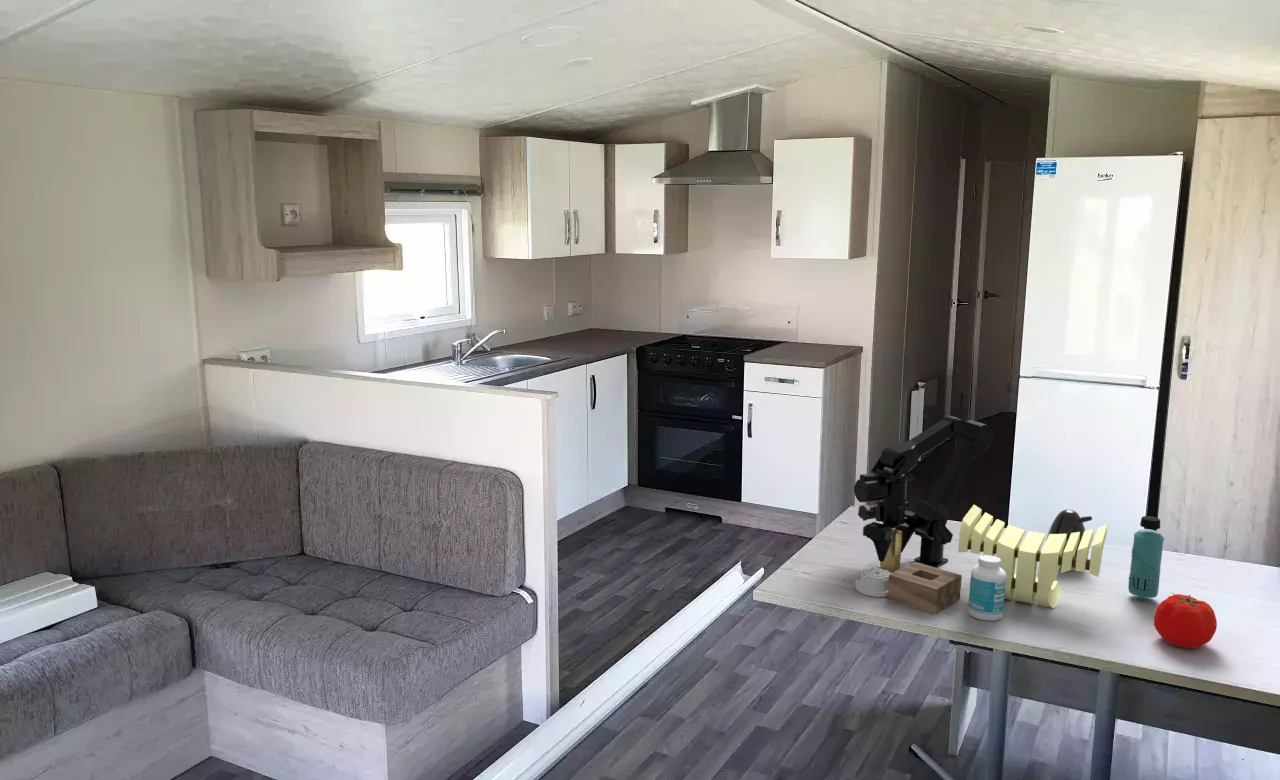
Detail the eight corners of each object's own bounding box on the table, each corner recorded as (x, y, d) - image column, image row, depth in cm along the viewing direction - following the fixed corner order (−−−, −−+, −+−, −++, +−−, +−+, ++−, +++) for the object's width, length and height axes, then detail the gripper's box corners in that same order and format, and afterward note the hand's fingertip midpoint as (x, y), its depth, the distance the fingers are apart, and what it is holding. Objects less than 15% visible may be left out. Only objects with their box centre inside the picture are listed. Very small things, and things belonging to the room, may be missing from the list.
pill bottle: (998, 625, 212) (1003, 566, 210) (964, 617, 216) (968, 560, 214) (1006, 613, 219) (1010, 556, 216) (972, 606, 222) (976, 550, 220)
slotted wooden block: (913, 585, 234) (915, 561, 233) (960, 599, 226) (961, 575, 225) (887, 599, 226) (889, 574, 225) (935, 614, 218) (936, 589, 217)
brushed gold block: (885, 564, 248) (888, 527, 246) (899, 568, 245) (902, 531, 243) (879, 567, 246) (881, 530, 244) (893, 571, 243) (896, 533, 241)
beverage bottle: (1155, 595, 229) (1164, 514, 225) (1160, 606, 223) (1169, 523, 219) (1124, 591, 231) (1133, 511, 227) (1128, 602, 225) (1137, 520, 221)
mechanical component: (855, 596, 228) (898, 600, 226) (856, 578, 227) (899, 582, 225) (854, 580, 238) (896, 584, 236) (855, 563, 237) (897, 567, 235)
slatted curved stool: (955, 593, 229) (960, 522, 226) (969, 572, 243) (974, 504, 240) (1093, 620, 215) (1101, 544, 212) (1100, 596, 228) (1107, 524, 225)
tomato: (1146, 628, 211) (1151, 583, 209) (1205, 634, 208) (1211, 589, 206) (1158, 651, 200) (1163, 604, 198) (1220, 659, 197) (1226, 611, 195)
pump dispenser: (1084, 577, 240) (1089, 518, 237) (1039, 569, 246) (1044, 511, 243) (1089, 564, 249) (1095, 508, 246) (1046, 557, 254) (1051, 501, 251)
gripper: (884, 483, 254) (881, 540, 257) (845, 498, 241) (842, 558, 244) (923, 492, 246) (920, 550, 249) (885, 508, 233) (881, 569, 236)
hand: (890, 556), depth 245 cm, fingers open, 9 cm apart
